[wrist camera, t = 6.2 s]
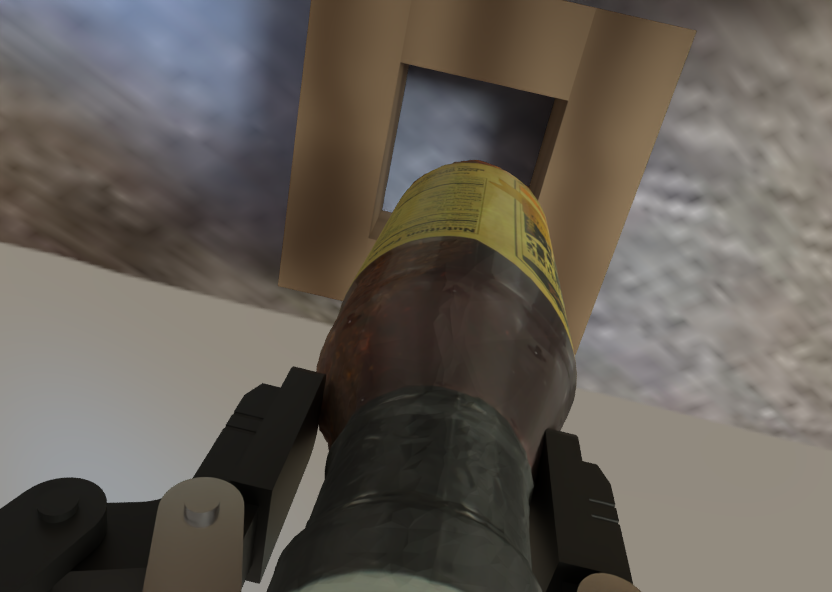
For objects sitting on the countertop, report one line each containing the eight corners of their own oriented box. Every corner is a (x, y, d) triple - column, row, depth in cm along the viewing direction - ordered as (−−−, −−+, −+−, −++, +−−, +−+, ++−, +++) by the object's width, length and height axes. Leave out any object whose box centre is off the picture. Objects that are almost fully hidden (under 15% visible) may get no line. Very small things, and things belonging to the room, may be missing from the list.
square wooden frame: (669, 25, 34) (696, 30, 29) (566, 315, 42) (575, 354, 37) (340, -50, 34) (317, -56, 29) (300, 254, 42) (277, 285, 37)
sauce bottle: (533, 302, 27) (587, 882, 10) (390, 285, 28) (192, 807, 10) (559, 151, 24) (704, 586, 7) (399, 135, 25) (141, 501, 7)
